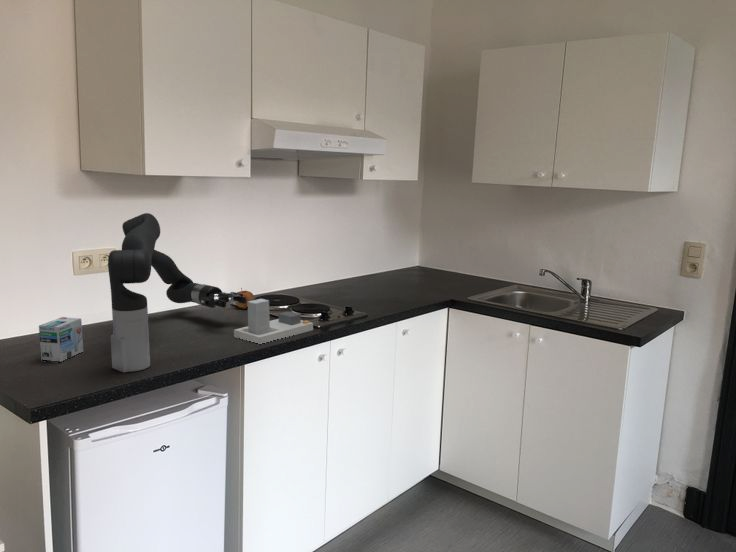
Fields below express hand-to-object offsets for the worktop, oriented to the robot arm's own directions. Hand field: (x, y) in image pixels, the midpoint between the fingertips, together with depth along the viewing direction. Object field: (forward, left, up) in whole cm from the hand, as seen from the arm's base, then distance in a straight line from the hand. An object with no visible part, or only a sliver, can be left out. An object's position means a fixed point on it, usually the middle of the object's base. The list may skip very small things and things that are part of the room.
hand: (235, 302), depth 211 cm
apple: (+23, +24, -10) cm, 35 cm away
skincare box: (0, -12, -10) cm, 15 cm away
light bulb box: (-52, +15, -10) cm, 55 cm away
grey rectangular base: (+7, -12, -10) cm, 17 cm away
